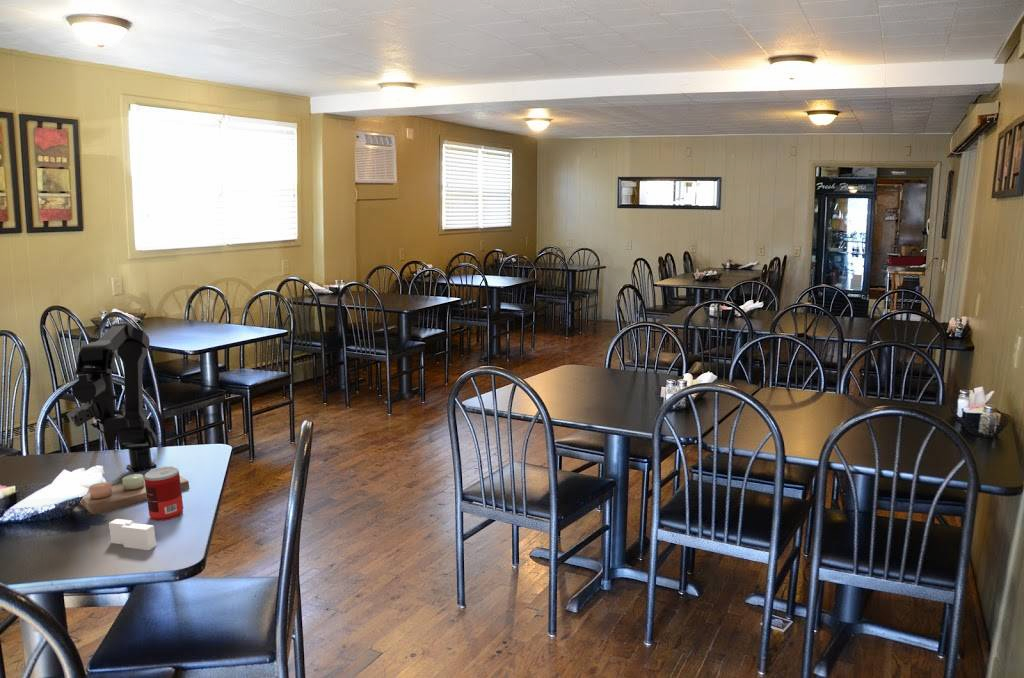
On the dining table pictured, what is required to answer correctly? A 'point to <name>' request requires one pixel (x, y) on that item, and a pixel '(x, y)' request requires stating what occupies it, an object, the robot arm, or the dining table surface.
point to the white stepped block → (132, 534)
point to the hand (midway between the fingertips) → (109, 449)
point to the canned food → (163, 493)
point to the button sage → (133, 481)
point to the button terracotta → (100, 490)
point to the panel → (120, 498)
